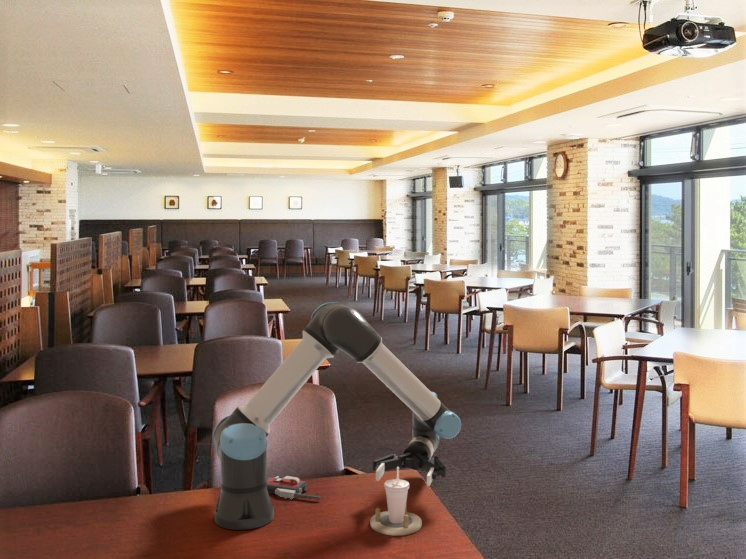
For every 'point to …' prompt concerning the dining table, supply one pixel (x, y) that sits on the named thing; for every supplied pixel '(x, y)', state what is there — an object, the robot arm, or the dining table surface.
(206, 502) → the dining table surface
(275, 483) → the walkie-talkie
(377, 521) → the cup holder base
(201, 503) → the dining table surface
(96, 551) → the dining table surface
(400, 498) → the smoothie
